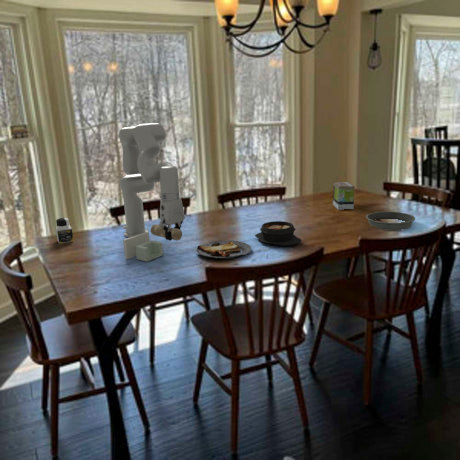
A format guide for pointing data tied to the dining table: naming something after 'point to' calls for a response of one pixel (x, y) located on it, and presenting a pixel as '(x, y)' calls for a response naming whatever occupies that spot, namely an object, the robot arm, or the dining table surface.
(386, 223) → the cake pan
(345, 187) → the tea box
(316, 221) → the dining table surface
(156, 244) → the block
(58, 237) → the black and yellow box
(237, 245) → the food plate
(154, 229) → the dowel
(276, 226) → the casserole
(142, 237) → the base
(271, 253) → the dining table surface
